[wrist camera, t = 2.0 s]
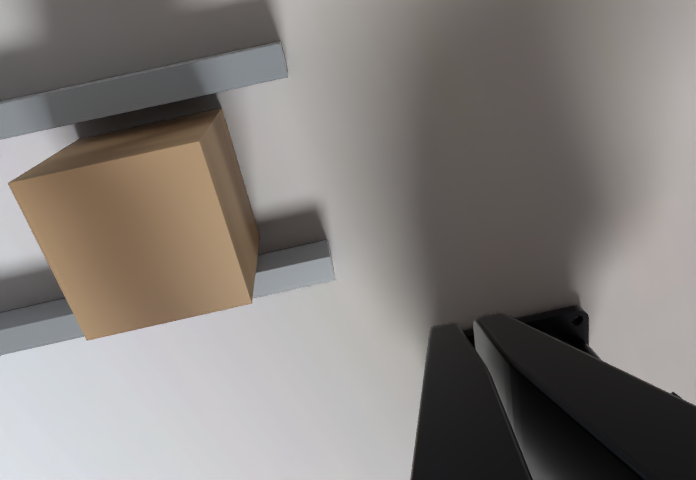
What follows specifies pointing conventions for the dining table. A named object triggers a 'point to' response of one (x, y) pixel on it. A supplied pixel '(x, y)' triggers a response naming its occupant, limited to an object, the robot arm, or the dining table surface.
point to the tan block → (145, 224)
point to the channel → (134, 94)
